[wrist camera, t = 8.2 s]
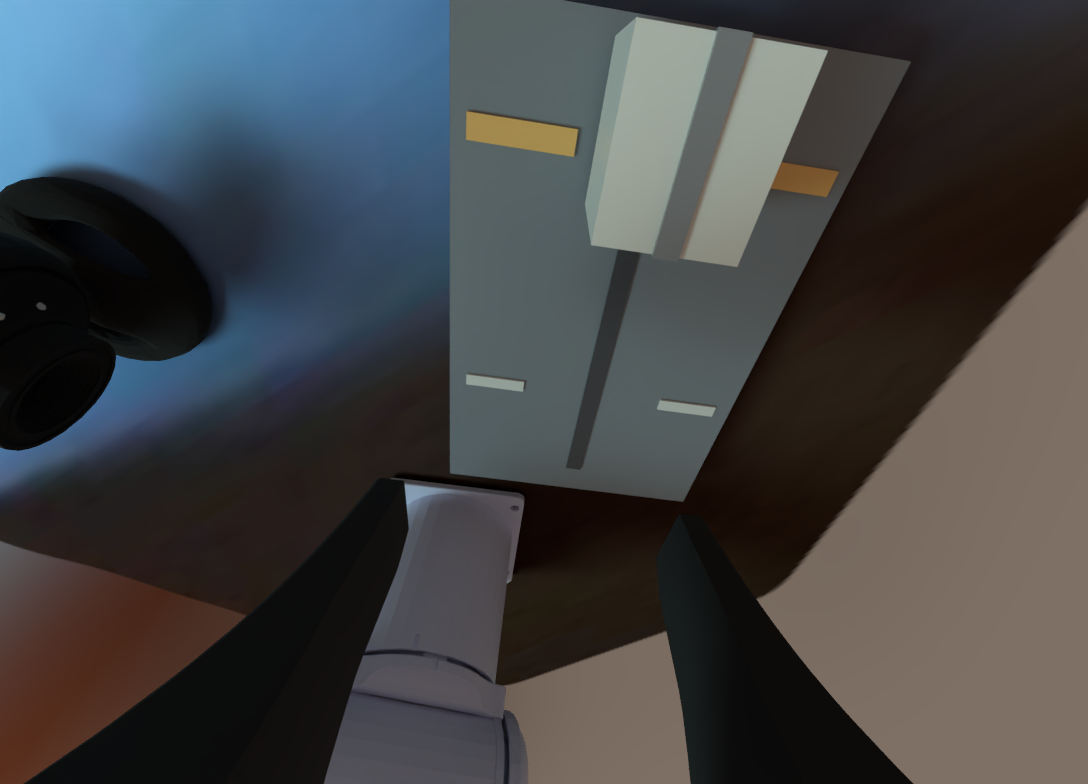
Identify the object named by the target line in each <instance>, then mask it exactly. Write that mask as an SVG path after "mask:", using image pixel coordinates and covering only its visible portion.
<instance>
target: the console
mask: <svg viewBox="0 0 1088 784" xmlns="http://www.w3.org/2000/svg"><path fill="white" fill-rule="evenodd" d="M636 17H639V18H645V19H651V20H656V21H662V22H668V23H674V24H679V25H685V26H691V27H696V28H702V29H708V30H713V31H717V28H718V27H713V26H707V25H701V24H696V23H690V22H684V21H679V20H673V19H667V18H662V17H656V16H650V15H645V14H639V13H633V12H628V11H622V10H616V9H611V8H605V7H599V6H594V5H588V4H582V3H577V2H571V1H565V0H450V473H453V474H461V475H469V476H477V477H486V478H494V479H502V480H510V481H518V482H526V483H534V484H543V485H551V486H559V487H567V488H575V489H583V490H591V491H600V492H608V493H616V494H624V495H632V496H640V497H648V498H657V499H665V500H673V501H681V502H683V501H684V499H685V497H686V495H687V493H688V491H689V489H690V487H691V485H692V484H693V482H694V480H695V478H696V476H697V474H698V472H699V470H700V468H701V466H702V464H703V462H704V460H705V458H706V457H707V455H708V453H709V451H710V449H711V447H712V445H713V443H714V441H715V439H716V437H717V435H718V433H719V431H720V430H721V428H722V426H723V424H724V422H725V420H726V418H727V416H728V414H729V412H730V410H731V408H732V406H733V404H734V403H735V401H736V399H737V397H738V395H739V393H740V391H741V389H742V387H743V385H744V383H745V381H746V379H747V377H748V376H749V374H750V372H751V370H752V368H753V366H754V364H755V362H756V360H757V358H758V356H759V354H760V352H761V350H762V349H763V347H764V345H765V343H766V341H767V339H768V337H769V335H770V333H771V331H772V329H773V327H774V325H775V323H776V322H777V320H778V318H779V316H780V314H781V312H782V310H783V308H784V306H785V304H786V302H787V300H788V298H789V296H790V295H791V293H792V291H793V289H794V287H795V285H796V283H797V281H798V279H799V277H800V275H801V273H802V271H803V269H804V268H805V266H806V264H807V262H808V260H809V258H810V256H811V254H812V252H813V250H814V248H815V246H816V244H817V242H818V240H819V239H820V237H821V235H822V233H823V231H824V229H825V227H826V225H827V223H828V221H829V219H830V217H831V215H832V213H833V212H834V210H835V208H836V206H837V204H838V202H839V200H840V198H841V196H842V194H843V192H844V190H845V188H846V186H847V185H848V183H849V181H850V179H851V177H852V175H853V173H854V171H855V169H856V167H857V165H858V163H859V161H860V159H861V158H862V156H863V154H864V152H865V150H866V148H867V146H868V144H869V142H870V140H871V138H872V136H873V134H874V132H875V131H876V129H877V127H878V125H879V123H880V121H881V119H882V117H883V115H884V113H885V111H886V109H887V107H888V105H889V104H890V102H891V100H892V98H893V96H894V94H895V92H896V90H897V88H898V86H899V84H900V82H901V80H902V78H903V77H904V75H905V73H906V71H907V69H908V67H909V65H910V63H911V61H906V60H900V59H894V58H889V57H883V56H877V55H872V54H866V53H860V52H855V51H849V50H843V49H838V48H832V47H826V46H821V45H815V44H809V43H804V42H798V41H792V40H786V39H781V38H775V37H769V36H764V35H758V34H753V36H752V37H753V38H759V39H765V40H770V41H776V42H782V43H787V44H793V45H799V46H804V47H810V48H816V49H821V50H827V51H828V52H827V54H826V57H825V59H824V62H823V64H822V66H821V69H820V71H819V74H818V76H817V78H816V81H815V83H814V85H813V88H812V90H811V93H810V95H809V97H808V100H807V102H806V104H805V107H804V109H803V112H802V114H801V116H800V119H799V121H798V124H797V126H796V128H795V131H794V133H793V135H792V138H791V140H790V143H789V145H788V147H787V150H786V152H785V155H784V157H783V159H782V162H781V164H780V166H779V169H778V171H777V174H776V176H775V178H774V181H773V183H772V185H771V188H770V190H769V193H768V195H767V197H766V200H765V202H764V205H763V207H762V209H761V212H760V214H759V216H758V219H757V221H756V224H755V226H754V228H753V231H752V233H751V236H750V238H749V240H748V243H747V245H746V247H745V250H744V252H743V255H742V257H741V259H740V262H739V264H738V266H737V267H734V266H727V265H720V264H714V263H707V262H700V261H694V260H687V259H680V258H679V260H678V262H674V261H667V260H661V259H654V258H652V254H647V253H640V252H634V251H627V250H620V249H614V248H607V247H600V246H594V245H591V241H590V235H589V228H588V221H587V215H586V208H585V201H586V195H587V190H588V184H589V179H590V173H591V168H592V162H593V157H594V151H595V145H596V140H597V134H598V129H599V123H600V118H601V112H602V107H603V101H604V95H605V90H606V84H607V79H608V73H609V68H610V62H611V57H612V51H613V46H614V40H615V36H616V35H617V34H618V33H619V32H620V31H621V30H622V29H624V28H625V27H626V26H627V25H628V24H629V23H630V22H631V21H633V20H634V19H635V18H636Z"/></svg>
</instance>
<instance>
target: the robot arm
mask: <svg viewBox="0 0 1088 784" xmlns="http://www.w3.org/2000/svg"><path fill="white" fill-rule="evenodd" d="M524 500H525V499H524V496H523V495H522V494H520V493H515V492H507V491H499V490H490V489H482V488H474V487H466V486H458V485H449V484H441V483H433V482H425V481H416V480H408V479H400V478H392V479H386V478H379V479H378V480H376V481H375V483H374V484H373V485H372V486H371V488H370V489H369V490H368V491H367V492H366V494H365V495H364V496H363V497H362V499H361V500H360V501H359V502H358V503H357V504H356V506H355V507H354V508H353V509H352V510H351V511H350V513H349V514H348V515H347V516H346V517H345V518H344V519H343V521H342V522H341V523H340V524H339V525H338V526H337V527H336V528H335V529H334V531H333V532H332V533H331V534H330V535H329V536H328V537H327V538H326V539H325V540H324V541H323V542H322V544H321V545H320V546H319V547H318V548H317V549H316V550H315V551H314V552H313V553H312V554H311V555H310V556H309V557H308V558H307V559H306V560H305V561H304V562H303V563H302V564H301V565H300V566H299V567H298V568H297V569H296V570H295V571H294V572H293V573H292V574H291V575H290V576H289V577H288V578H287V579H286V580H285V581H284V582H283V583H282V584H281V585H280V586H279V587H278V588H277V589H276V590H275V591H274V592H273V593H272V594H270V595H269V596H268V597H267V598H266V599H265V600H264V601H263V602H262V603H261V604H260V605H259V606H257V607H256V608H255V609H254V610H253V611H252V612H251V613H250V614H248V615H247V616H246V617H245V618H244V619H243V620H242V621H241V622H239V623H238V624H237V625H236V626H235V627H234V628H232V629H231V630H230V631H229V632H228V633H227V634H225V635H224V636H223V637H222V638H221V639H220V640H218V641H217V642H216V643H214V644H213V645H212V646H211V647H210V648H208V649H207V650H206V651H205V652H204V653H202V654H201V655H200V656H199V657H198V658H196V659H195V660H194V661H193V662H191V663H190V664H189V665H188V666H186V667H185V668H184V669H183V670H181V671H180V672H179V673H178V674H176V675H175V676H174V677H172V678H171V679H170V680H168V681H167V682H166V683H164V684H163V685H162V686H160V687H159V688H158V689H156V690H155V691H154V692H152V693H151V694H150V695H148V696H147V697H146V698H144V699H143V700H142V701H140V702H139V703H138V704H136V705H135V706H134V707H132V708H131V709H129V710H128V711H127V712H125V713H124V714H123V715H122V716H120V717H119V718H118V719H116V720H115V721H114V722H112V723H111V724H110V725H108V726H107V727H105V728H104V729H102V730H101V731H100V732H98V733H97V734H95V735H94V736H93V737H91V738H90V739H88V740H87V741H85V742H84V743H82V744H81V745H79V746H78V747H77V748H75V749H74V750H72V751H71V752H69V753H68V754H66V755H65V756H63V757H62V758H61V759H59V760H58V761H56V762H55V763H53V764H52V765H50V766H49V767H47V768H46V769H44V770H43V771H41V772H40V773H39V774H37V775H36V776H34V777H33V778H31V779H30V780H28V781H27V782H26V783H24V784H528V760H527V751H526V745H525V741H524V738H523V735H522V733H521V731H520V728H519V725H518V722H517V720H516V718H515V716H514V714H512V713H511V712H510V711H507V710H504V702H505V692H506V688H505V687H504V686H501V685H497V684H495V678H496V670H497V661H498V653H499V644H500V636H501V628H502V619H503V611H504V602H505V594H506V585H507V583H509V582H510V581H511V580H512V574H513V568H514V562H515V556H516V550H517V544H518V538H519V532H520V526H521V519H522V513H523V507H524ZM656 561H657V574H658V585H659V594H660V601H661V606H662V611H663V616H664V621H665V626H666V631H667V636H668V640H669V645H670V650H671V655H672V659H673V664H674V668H675V674H676V678H677V682H678V688H679V693H680V699H681V705H682V711H683V718H684V727H685V736H686V744H687V752H688V761H689V771H690V781H691V784H913V783H912V782H911V781H910V780H909V779H908V778H907V777H906V776H905V775H904V774H903V773H902V772H901V771H900V770H899V769H898V768H897V767H896V766H895V765H894V764H893V762H892V761H891V760H890V759H889V758H888V757H887V756H886V755H885V754H884V753H883V752H882V751H881V750H880V749H879V748H878V746H877V745H875V743H874V742H873V741H872V740H871V739H870V738H869V737H868V736H867V735H866V734H865V733H864V732H863V730H861V728H860V727H859V726H858V725H857V724H856V723H855V722H854V721H853V720H852V719H851V718H850V717H849V715H847V713H846V712H845V711H844V710H843V709H842V708H841V706H840V705H839V704H838V703H837V702H836V701H835V700H834V698H833V697H832V696H831V695H830V694H829V693H828V692H827V690H826V689H825V688H824V687H823V685H821V683H820V682H819V681H818V680H817V678H816V677H815V676H814V675H813V674H812V672H810V670H809V669H808V668H807V666H806V665H805V664H804V663H803V661H802V660H801V659H800V658H799V656H798V655H797V654H796V652H795V651H794V650H793V649H792V647H791V646H790V645H789V643H788V642H787V641H786V639H785V638H784V637H783V635H782V634H781V633H780V631H779V630H778V629H777V627H776V626H775V625H774V623H773V622H772V621H771V619H770V618H769V616H768V615H767V614H766V612H765V611H764V610H763V608H762V607H761V605H760V604H759V602H758V601H757V600H756V598H755V597H754V595H753V594H752V592H751V591H750V589H749V588H748V587H747V585H746V584H745V582H744V581H743V579H742V578H741V576H740V575H739V573H738V572H737V570H736V569H735V567H734V566H733V564H732V563H731V561H730V560H729V558H728V556H727V555H726V553H725V552H724V550H723V549H722V547H721V546H720V544H719V543H718V541H717V539H716V538H715V536H714V535H713V533H712V532H711V530H710V528H709V527H708V525H707V524H706V522H705V521H704V519H703V518H702V517H701V516H693V515H685V514H679V515H678V517H677V519H676V521H675V522H674V524H673V526H672V528H671V530H670V532H669V534H668V536H667V538H666V540H665V542H664V544H663V546H662V547H661V549H660V551H659V553H658V555H657V557H656Z"/></svg>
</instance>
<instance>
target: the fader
mask: <svg viewBox="0 0 1088 784" xmlns="http://www.w3.org/2000/svg"><path fill="white" fill-rule="evenodd" d="M752 36H753V32H747V31H742V30H736V29H730V28H725V27H718V28H717V31H713V30H708V29H702V28H696V27H691V26H685V25H679V24H674V23H668V22H662V21H656V20H651V19H645V18H639V17H636V18H635V19H634V20H633V21H631V22H630V23H629V24H628V25H627V26H626V27H625V28H624V29H622V30H621V31H620V32H619V33H618V34H617V35H616V36H615V40H614V46H613V51H612V57H611V62H610V68H609V73H608V79H607V84H606V90H605V95H604V101H603V107H602V112H601V118H600V123H599V129H598V134H597V140H596V145H595V151H594V157H593V162H592V168H591V173H590V179H589V184H588V190H587V195H586V201H585V208H586V215H587V221H588V228H589V235H590V241H591V245H594V246H600V247H607V248H614V249H620V250H627V251H634V252H640V253H647V254H652V258H654V259H661V260H667V261H674V262H678V260H679V258H680V259H687V260H694V261H700V262H707V263H714V264H720V265H727V266H734V267H737V266H738V264H739V262H740V259H741V257H742V255H743V252H744V250H745V247H746V245H747V243H748V240H749V238H750V236H751V233H752V231H753V228H754V226H755V224H756V221H757V219H758V216H759V214H760V212H761V209H762V207H763V205H764V202H765V200H766V197H767V195H768V193H769V190H770V188H771V185H772V183H773V181H774V178H775V176H776V174H777V171H778V169H779V166H780V164H781V162H782V159H783V157H784V155H785V152H786V150H787V147H788V145H789V143H790V140H791V138H792V135H793V133H794V131H795V128H796V126H797V124H798V121H799V119H800V116H801V114H802V112H803V109H804V107H805V104H806V102H807V100H808V97H809V95H810V93H811V90H812V88H813V85H814V83H815V81H816V78H817V76H818V74H819V71H820V69H821V66H822V64H823V62H824V59H825V57H826V54H827V52H828V51H827V50H821V49H816V48H810V47H804V46H799V45H793V44H787V43H782V42H776V41H770V40H765V39H759V38H753V37H752Z"/></svg>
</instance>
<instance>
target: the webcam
mask: <svg viewBox="0 0 1088 784" xmlns="http://www.w3.org/2000/svg"><path fill="white" fill-rule="evenodd" d="M59 220H70V221H77V222H81V223H83V224H86V225H88V226H91V227H93V228H96V229H97V230H99V231H101V232H103V233H104V234H106V235H108V236H110V237H111V238H113V239H115V240H117V241H118V242H119V243H120V244H122V245H123V246H124V247H125V248H127V249H128V250H129V251H130V252H132V253H133V254H134V255H135V256H136V257H137V258H138V259H139V260H140V261H141V262H142V263H143V264H144V265H145V266H146V267H147V268H148V270H149V272H150V273H151V278H148V279H142V278H138V277H134V276H130V275H126V274H123V273H120V272H118V271H115V270H113V269H110V268H108V267H106V266H104V265H102V264H100V263H98V262H95V261H93V260H91V259H89V258H87V257H85V256H82V255H80V254H78V253H76V252H74V251H73V250H71V249H69V248H68V247H66V246H64V245H63V244H61V243H60V242H58V241H56V240H55V239H53V238H51V237H50V236H49V234H48V229H49V228H50V226H51V225H52V224H53V223H54V222H56V221H59ZM211 316H212V309H211V299H210V295H209V292H208V288H207V285H206V284H205V282H204V280H203V279H202V277H201V275H200V274H199V272H198V270H197V269H196V267H195V265H194V264H193V262H192V260H191V258H190V257H189V255H188V254H187V252H186V251H185V250H184V249H183V247H182V246H181V245H180V244H179V242H178V241H177V240H176V239H175V238H174V237H173V236H172V235H171V234H170V233H169V232H168V231H166V230H165V229H164V228H163V227H162V226H161V225H160V224H159V223H158V222H157V221H156V220H154V219H153V218H151V217H150V216H148V215H147V214H145V213H144V212H143V211H141V210H140V209H138V208H137V207H135V206H134V205H132V204H131V203H129V202H128V201H126V200H125V199H123V198H122V197H119V196H117V195H115V194H113V193H111V192H109V191H106V190H104V189H102V188H99V187H96V186H93V185H90V184H87V183H83V182H80V181H77V180H72V179H64V178H57V177H39V178H32V179H25V180H21V181H18V182H16V183H14V184H11V185H9V186H6V187H5V188H4V189H3V190H2V191H1V192H0V447H1V448H3V449H8V450H18V451H19V450H25V449H30V448H33V447H36V446H39V445H41V444H43V443H45V442H47V441H50V440H51V439H53V438H55V437H56V436H58V435H59V434H61V433H63V432H64V431H66V430H67V429H68V428H69V427H70V426H72V425H73V424H74V423H75V422H77V421H78V420H79V419H80V418H82V417H83V416H84V414H85V413H86V412H87V411H88V410H89V409H90V408H91V407H92V406H93V405H94V404H95V403H96V401H97V400H98V399H99V397H100V396H101V395H102V393H103V392H104V390H105V388H106V387H107V385H108V383H109V381H110V380H111V377H112V374H113V371H114V368H115V361H116V355H119V356H122V357H126V358H130V359H136V360H143V361H161V360H167V359H170V358H173V357H176V356H180V355H183V354H185V353H187V352H189V351H191V350H192V349H193V348H195V347H196V346H197V345H198V344H200V343H201V341H202V340H203V339H204V338H205V336H206V334H207V332H208V330H209V327H210V323H211Z"/></svg>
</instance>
